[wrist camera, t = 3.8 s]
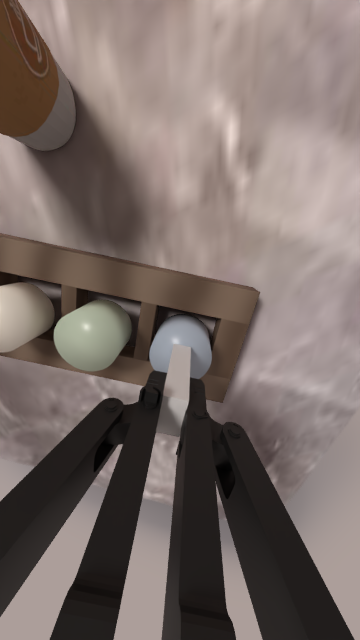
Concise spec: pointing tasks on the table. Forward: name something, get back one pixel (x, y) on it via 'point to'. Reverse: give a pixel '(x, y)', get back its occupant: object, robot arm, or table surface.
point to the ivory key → (23, 314)
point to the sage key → (93, 335)
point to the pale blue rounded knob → (183, 333)
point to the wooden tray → (137, 284)
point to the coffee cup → (31, 85)
